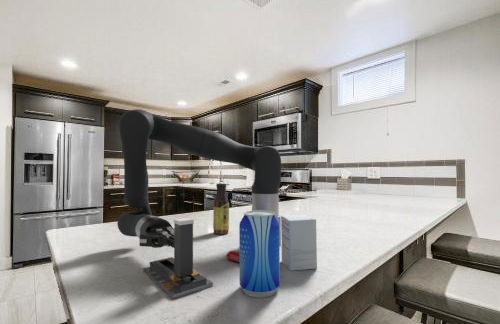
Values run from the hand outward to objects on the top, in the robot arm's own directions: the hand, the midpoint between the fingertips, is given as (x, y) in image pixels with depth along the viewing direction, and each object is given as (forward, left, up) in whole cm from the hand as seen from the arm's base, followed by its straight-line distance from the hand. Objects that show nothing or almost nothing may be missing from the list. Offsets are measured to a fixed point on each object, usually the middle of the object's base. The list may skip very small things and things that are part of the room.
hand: (179, 244), depth 58 cm
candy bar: (-18, -8, -9) cm, 22 cm away
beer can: (-17, +7, -9) cm, 20 cm away
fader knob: (-1, +1, -7) cm, 7 cm away
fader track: (+1, -2, -8) cm, 9 cm away
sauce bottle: (-12, -44, -9) cm, 47 cm away
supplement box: (-30, -5, -9) cm, 32 cm away
